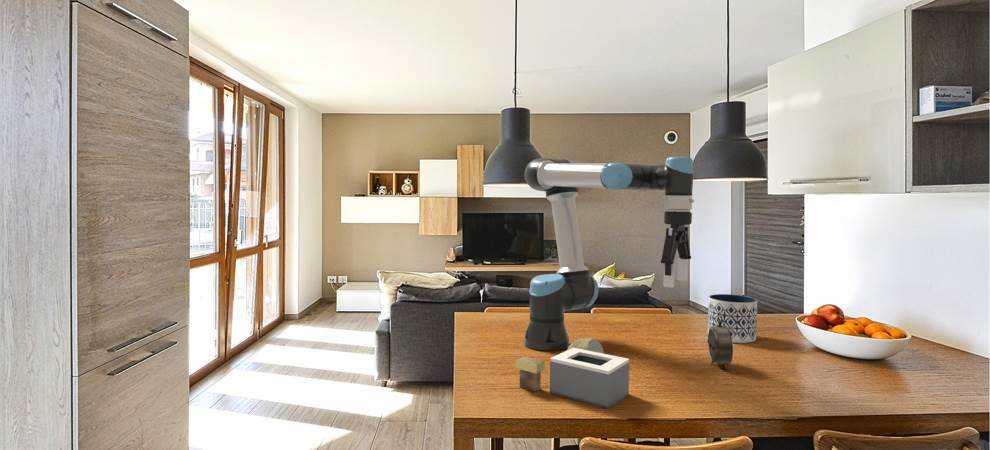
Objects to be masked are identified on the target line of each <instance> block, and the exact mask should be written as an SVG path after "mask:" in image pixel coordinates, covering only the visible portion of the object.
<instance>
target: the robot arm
mask: <svg viewBox="0 0 990 450" xmlns="http://www.w3.org/2000/svg"><path fill="white" fill-rule="evenodd" d="M524 169H525V170H524V180H525V182H526V183H527V186H529V187H530V188H531V189H533V190H535V191H539V192H545V197H546V199H547V200H548V201H549V202H550V203H551V210H552V217H553V218H552V219H553V220H552V221H553V225H554V227H553V228H554V234H555V240H556V247H557V255H558V262H559V263H558V265H559V269H558V270H557V271H556V273H549V274H540V275H536V276H535V277H533V278H532V279H531V281H530V284H529V322H528V325H527V329H526V331H525V334H524V338H523V339H524V340H523V344H524V346H525V347H527V348H528V349H529V348H530V349H533V350H538V351H546V352H547V351H561V350H565V349H568V346H569V345H570V338H569V335H568V331H567V328H566V325H565V312H568V311H574V310H584V309H585V308H589V307H590V306H592V305H593V304H594V303H595V302H596V300H597V299H598V296H599V284H598V281H597V279H595V277H594V276H592V275H591V273H590V269H589V268H588V267H587V266H586V265H585V264H584V256H583V249H582V241H581V235H580V227H579V220H578V219H579V218H578V213H577V206H576V205H577V204H576V198H577V196H578V195H579V189H580V188H590V189H607V190H608V189H610V190H614V191H615V190H616V191H617V190H618V191H619V190H620V191H621V190H632V191H643V192H646V191H664V206H663V207H664V210H665V212H664V213H663V214H664V215H663V217H664V218H663V219H664V220H663V223H664V224H665V225H670V226H669V228H668V227H667V228H665V229H666V230H665V237H664V238H665V239H664V244H663V249H662V254H661V259H660V263H661V264H663V281H662V282H663V283H662V284H663V288H664V287H665V288H674V287H675V263H674V262H675V258H676V254H677V253H678V259H677V278H676V279H677V281H680V282H688V271H689V270H688V269H689V268H688V267H689V260H691V259H692V255H691V249H690V240H689V239H690V238H689V226H688V225H692V223H693V222H692V221H693V216H692V215H693V213H692V212H691V211H690V210H692V209H693V203H695V199H693V187H694V186H693V185H694V174H695V171H694V160H693V158H692V157H689V156H669V157H667V158H666V160H665V164H656V165H655V164H640V163H639V164H637V163H636V164H635V163H624V162H609V163H608V162H606V163H605V162H602V163H601V162H598V163H597V162H595V163H594V162H593V163H591V162H589V163H588V162H587V163H586V162H584V163H583V162H578V163H577V162H574V161H573V160H568V159H563V158H562V159H559V158H545V157H544V158H543V157H539V158H536V159H535V158H534V159H533V160H531V161H530V162H529V163H528V164H527V165H526V167H525V168H524Z"/></svg>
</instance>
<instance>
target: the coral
mask: <svg viewBox="0 0 990 450" xmlns="http://www.w3.org/2000/svg"><path fill="white" fill-rule="evenodd" d="M571 348H578V349H583V350H588V351H593V352H598V353H602V354H605V353H604V348H603V346H602V344H601V342H600V341H598V340H597V339H595V338H594V337H593V338H592V337H588V338H585V337H581V338H577V339H576V340H575V341H572V343H571V344H569V346H568V347H567V348H566V349H567V350H569V349H571ZM567 350H566V351H567Z"/></svg>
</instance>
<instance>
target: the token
mask: <svg viewBox="0 0 990 450" xmlns="http://www.w3.org/2000/svg"><path fill="white" fill-rule="evenodd" d="M515 369H517V370H519V371H520V370H524V371H528V372H532V373H536V374H537V373H539V372H541V373H542V372H543V371H545V370H546V361H545V360H542V359H537V358H533V357H529V356H525V355H524V356H522V357H519V358H518V359H515Z"/></svg>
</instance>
